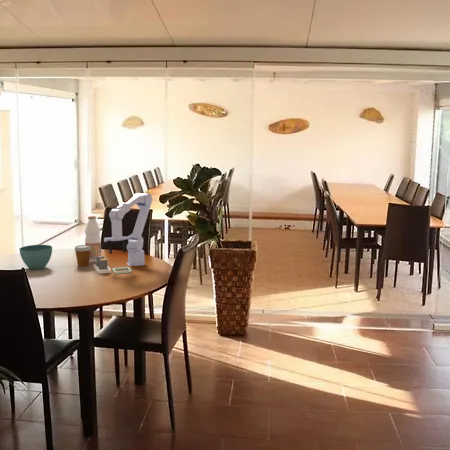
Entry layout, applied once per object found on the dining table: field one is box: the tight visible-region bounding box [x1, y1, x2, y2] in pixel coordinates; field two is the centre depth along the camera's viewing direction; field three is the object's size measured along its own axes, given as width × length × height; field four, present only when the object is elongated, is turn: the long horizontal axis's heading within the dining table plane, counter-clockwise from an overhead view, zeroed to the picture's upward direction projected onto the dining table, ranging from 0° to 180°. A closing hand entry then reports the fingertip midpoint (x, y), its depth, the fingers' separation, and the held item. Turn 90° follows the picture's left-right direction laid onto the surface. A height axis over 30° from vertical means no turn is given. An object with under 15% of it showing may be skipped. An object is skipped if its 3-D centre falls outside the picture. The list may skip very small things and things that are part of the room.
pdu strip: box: [92, 263, 112, 275], centre depth 325 cm, size 7×16×2 cm, turn 23°
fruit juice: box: [84, 215, 102, 263], centre depth 348 cm, size 9×9×28 cm
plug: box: [99, 258, 109, 270], centre depth 321 cm, size 4×4×7 cm
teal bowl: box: [19, 244, 53, 270], centre depth 330 cm, size 18×18×12 cm
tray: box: [111, 266, 133, 275], centre depth 323 cm, size 9×9×2 cm
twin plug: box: [95, 255, 106, 267], centre depth 328 cm, size 4×4×7 cm
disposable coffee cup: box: [74, 244, 91, 268], centre depth 336 cm, size 10×10×12 cm
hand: (117, 253), depth 326 cm, fingers open, 7 cm apart
